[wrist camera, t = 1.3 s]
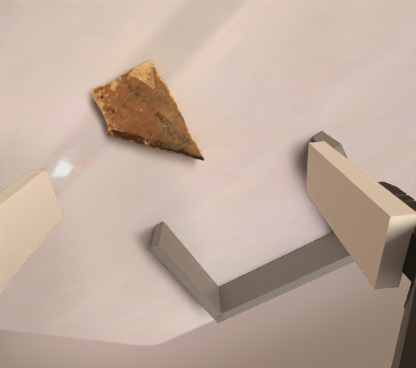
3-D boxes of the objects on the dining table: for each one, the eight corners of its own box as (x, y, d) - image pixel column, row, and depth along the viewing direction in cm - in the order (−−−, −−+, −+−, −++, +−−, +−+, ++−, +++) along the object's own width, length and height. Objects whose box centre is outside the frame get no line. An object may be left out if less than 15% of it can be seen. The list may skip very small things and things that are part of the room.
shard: (204, 155, 31) (204, 161, 29) (144, 183, 32) (140, 190, 30) (155, 57, 27) (151, 57, 25) (87, 93, 28) (80, 95, 26)
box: (155, 225, 35) (149, 249, 31) (322, 131, 30) (341, 144, 26) (216, 295, 41) (217, 323, 37) (364, 224, 36) (385, 247, 32)
